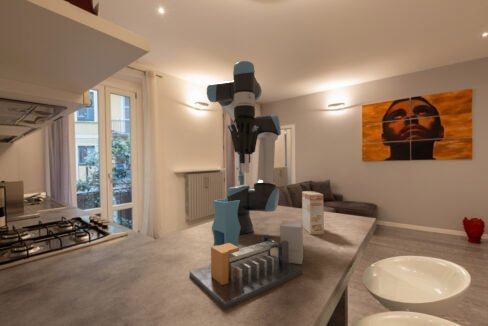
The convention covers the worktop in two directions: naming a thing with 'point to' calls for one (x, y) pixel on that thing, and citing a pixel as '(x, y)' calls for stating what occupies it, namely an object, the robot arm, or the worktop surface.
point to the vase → (226, 222)
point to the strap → (252, 250)
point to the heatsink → (248, 276)
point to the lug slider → (221, 261)
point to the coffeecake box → (313, 212)
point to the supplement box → (293, 240)
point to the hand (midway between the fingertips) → (245, 172)
